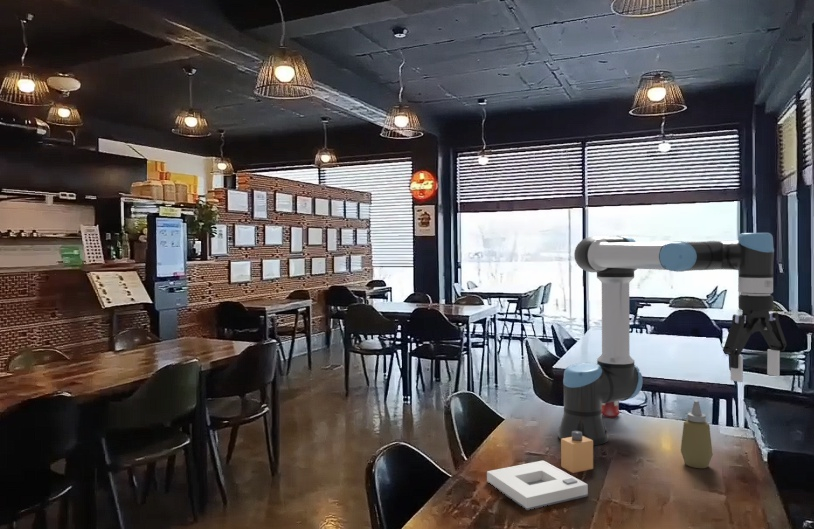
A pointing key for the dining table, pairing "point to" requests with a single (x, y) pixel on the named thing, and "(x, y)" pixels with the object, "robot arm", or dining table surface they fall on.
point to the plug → (576, 453)
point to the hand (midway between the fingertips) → (755, 378)
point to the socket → (537, 484)
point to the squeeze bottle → (696, 439)
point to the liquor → (610, 409)
